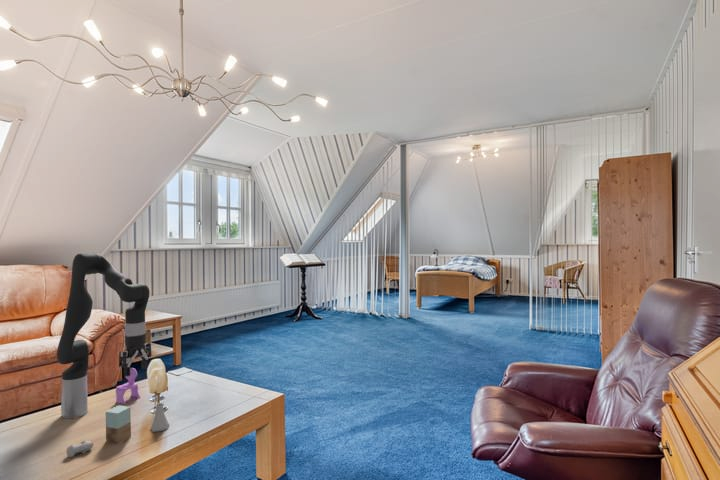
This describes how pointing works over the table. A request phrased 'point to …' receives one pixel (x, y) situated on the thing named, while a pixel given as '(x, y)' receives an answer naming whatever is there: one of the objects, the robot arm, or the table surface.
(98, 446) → the table surface
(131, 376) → the purple figure shape
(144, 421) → the table surface
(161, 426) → the flask
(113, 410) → the tower top
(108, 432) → the tower bottom
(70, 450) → the mannequin head
